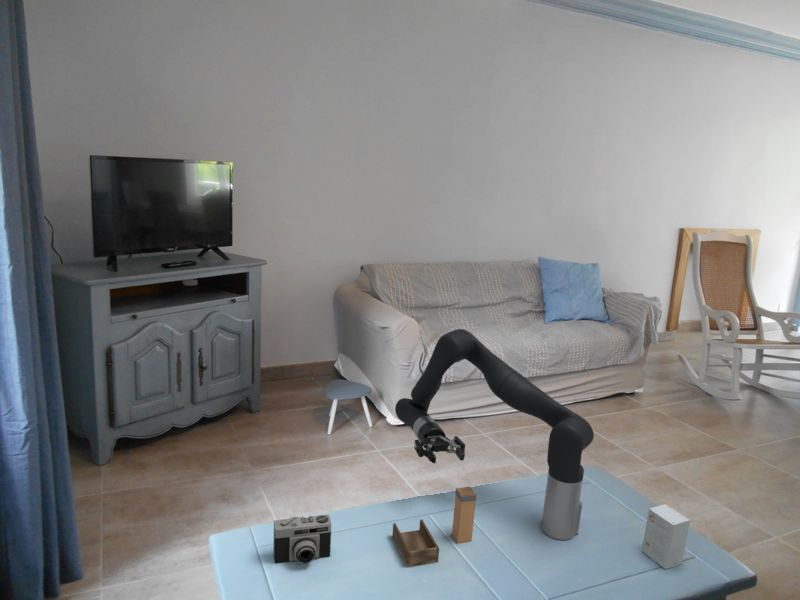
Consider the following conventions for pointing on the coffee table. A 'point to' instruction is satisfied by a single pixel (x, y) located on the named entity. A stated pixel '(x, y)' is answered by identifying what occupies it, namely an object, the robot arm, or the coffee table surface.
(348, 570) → the coffee table surface
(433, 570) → the coffee table surface
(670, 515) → the small box
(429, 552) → the walnut box
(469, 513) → the brown tall square block
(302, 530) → the camera
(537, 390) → the robot arm
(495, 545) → the coffee table surface
